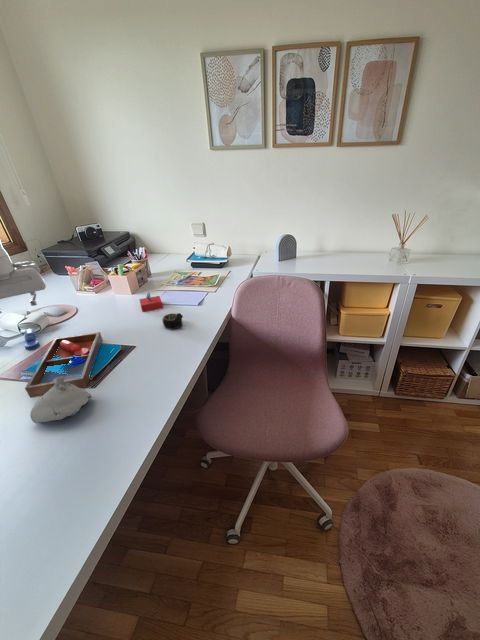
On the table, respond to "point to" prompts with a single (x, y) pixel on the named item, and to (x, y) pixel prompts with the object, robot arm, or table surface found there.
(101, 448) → the table surface
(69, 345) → the red spoon
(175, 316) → the tape measure
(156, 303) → the red rectangular block
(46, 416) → the grey clay mound
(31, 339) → the blue elongated piece
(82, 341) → the sorting tray
